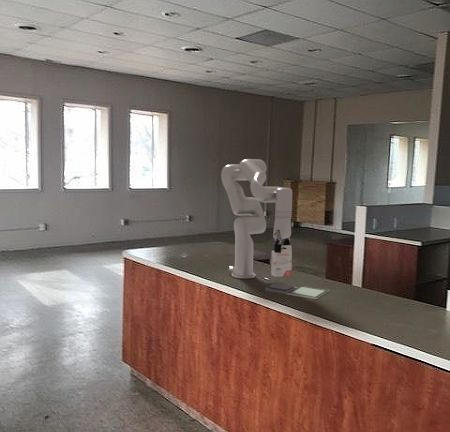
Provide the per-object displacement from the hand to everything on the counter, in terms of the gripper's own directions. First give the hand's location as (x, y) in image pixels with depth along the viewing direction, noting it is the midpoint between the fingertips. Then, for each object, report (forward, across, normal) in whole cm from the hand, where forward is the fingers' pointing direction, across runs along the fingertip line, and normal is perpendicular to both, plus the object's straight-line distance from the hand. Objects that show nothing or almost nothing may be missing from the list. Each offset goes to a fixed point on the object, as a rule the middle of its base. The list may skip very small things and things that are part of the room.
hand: (282, 251), depth 227 cm
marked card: (+19, -4, +12) cm, 23 cm away
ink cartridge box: (+12, 0, 0) cm, 12 cm away
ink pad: (+19, 0, 0) cm, 19 cm away
